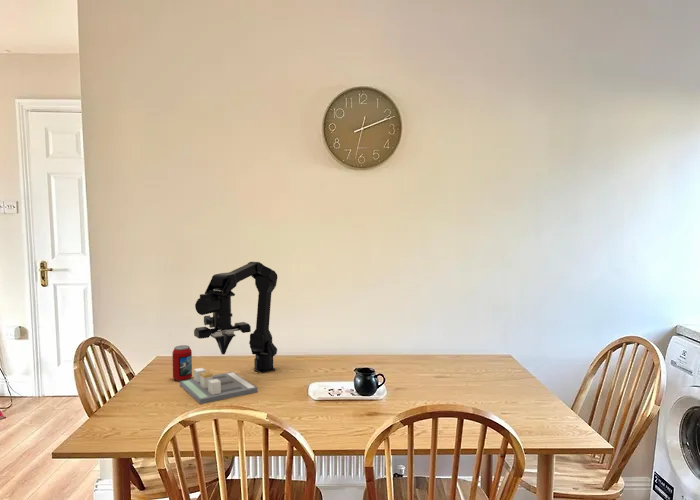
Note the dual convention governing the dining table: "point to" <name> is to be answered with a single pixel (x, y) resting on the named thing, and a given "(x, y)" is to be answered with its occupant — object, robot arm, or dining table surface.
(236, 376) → the panel
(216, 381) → the block
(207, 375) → the block
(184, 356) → the beverage can
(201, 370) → the block
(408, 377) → the dining table surface
